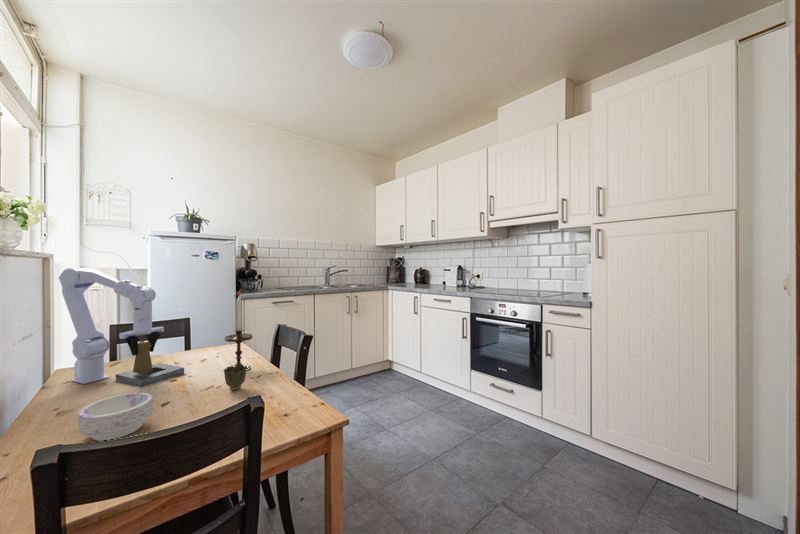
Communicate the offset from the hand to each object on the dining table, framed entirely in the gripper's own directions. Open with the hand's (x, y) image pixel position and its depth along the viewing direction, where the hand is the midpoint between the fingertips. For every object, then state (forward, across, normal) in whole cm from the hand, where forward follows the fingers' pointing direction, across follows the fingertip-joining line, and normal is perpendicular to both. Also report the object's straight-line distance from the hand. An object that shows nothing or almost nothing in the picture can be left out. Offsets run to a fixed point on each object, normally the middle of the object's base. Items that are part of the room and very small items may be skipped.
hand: (142, 353), depth 127 cm
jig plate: (+10, +3, 0) cm, 11 cm away
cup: (+11, +8, -42) cm, 44 cm away
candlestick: (+11, +24, -24) cm, 36 cm away
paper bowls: (+11, -26, -38) cm, 48 cm away
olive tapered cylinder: (+7, 0, 0) cm, 7 cm away
